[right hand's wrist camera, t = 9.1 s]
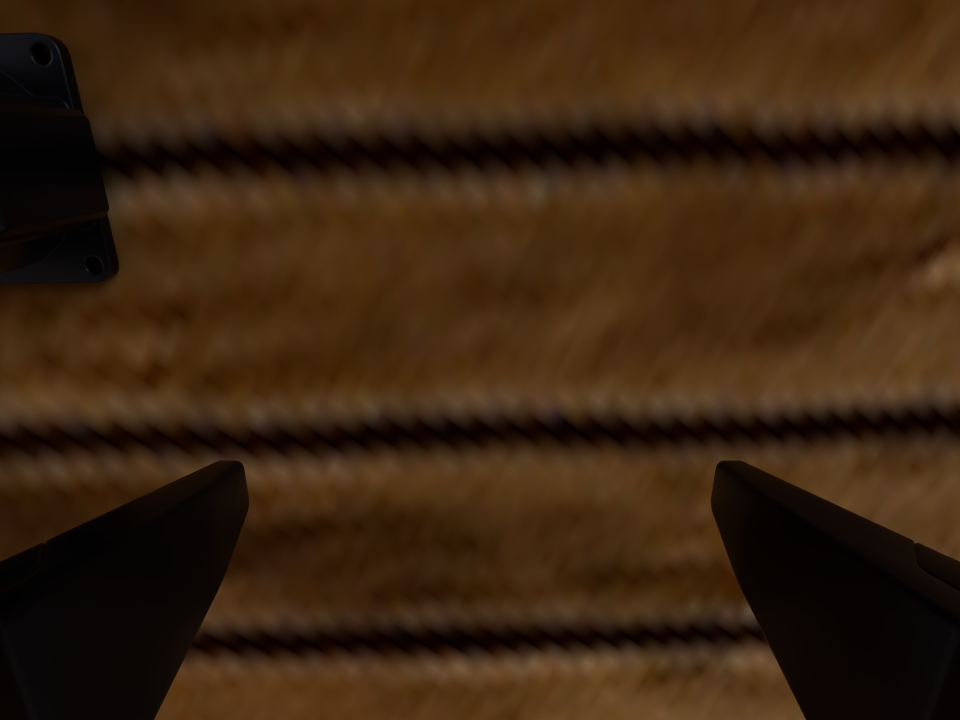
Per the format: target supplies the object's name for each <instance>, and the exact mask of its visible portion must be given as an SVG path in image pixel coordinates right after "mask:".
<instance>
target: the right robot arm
mask: <svg viewBox="0 0 960 720" xmlns="http://www.w3.org/2000/svg"><path fill="white" fill-rule="evenodd" d="M44 47H47V48H48V49H49V51H50V53H51V60H50V62H49V64H46V63H45V62H44V60H43V58H42V50H43V49H44ZM108 210H109V205H108V200H107V196H106V192H105V188H104V183H103V179H102V175H101V170H100V166H99V162H98V157H97V153H96V149H95V145H94V140H93V136H92V132H91V127H90V123H89V120H88V118H87V117H86V116H85V115H84V112H83V108H82V104H81V100H80V95H79V91H78V87H77V83H76V78H75V74H74V70H73V66H72V61H71V57H70V54H69V52H68V49H67V47H66V46H65V45H64V44H63V43H62V41H60V40H59V39H57V38H55V37H53V36H49V35H45V34H40V33H8V34H0V284H34V283H77V282H100V281H104V280H107V279H110V278H112V277H113V276H115V275H116V274H117V272H118V269H119V262H118V257H117V253H116V249H115V245H114V240H113V236H112V232H111V228H110V223H109V219H108V215H107V212H108ZM94 257H96V258H98V259H99V260H100V261H101V263H102V271H101V270H99V269H97V268H96V267H95V265H94V263H93V258H94ZM248 507H249V496H248V490H247V483H246V477H245V471H244V467H243V465H242V463H241V462H240V461H217V462H215V463H213V464H211V465H209V466H206V467H204V468H202V469H200V470H198V471H196V472H193V473H191V474H189V475H187V476H185V477H183V478H181V479H178V480H176V481H174V482H172V483H170V484H168V485H165V486H163V487H161V488H159V489H157V490H155V491H153V492H150V493H148V494H146V495H144V496H142V497H140V498H137V499H135V500H133V501H131V502H129V503H127V504H125V505H122V506H120V507H118V508H116V509H114V510H112V511H109V512H107V513H105V514H103V515H101V516H99V517H96V518H94V519H92V520H90V521H88V522H86V523H84V524H81V525H79V526H77V527H75V528H73V529H71V530H68V531H66V532H64V533H62V534H60V535H58V536H56V537H53V538H51V539H49V540H47V541H46V543H45V544H44V543H40V544H38V545H36V546H34V547H32V548H29V549H27V550H25V551H23V552H21V553H19V554H16V555H14V556H12V557H10V558H7V559H5V560H3V561H1V562H0V720H154V719H155V717H156V715H157V713H158V710H159V708H160V706H161V704H162V702H163V700H164V698H165V696H166V694H167V692H168V690H169V688H170V686H171V684H172V682H173V680H174V678H175V676H176V674H177V672H178V670H179V668H180V666H181V664H182V662H183V660H184V658H185V656H186V654H187V652H188V650H189V648H190V646H191V644H192V642H193V640H194V638H195V636H196V634H197V632H198V630H199V628H200V626H201V624H202V622H203V620H204V618H205V616H206V614H207V611H208V609H209V607H210V605H211V603H212V601H213V599H214V597H215V595H216V593H217V591H218V589H219V587H220V585H221V583H222V581H223V578H224V576H225V573H226V571H227V568H228V565H229V562H230V560H231V557H232V554H233V551H234V548H235V546H236V543H237V540H238V537H239V534H240V531H241V529H242V526H243V523H244V520H245V517H246V515H247V512H248ZM711 507H712V512H713V515H714V517H715V520H716V523H717V526H718V529H719V532H720V534H721V537H722V540H723V543H724V546H725V548H726V551H727V554H728V557H729V560H730V562H731V565H732V568H733V571H734V573H735V576H736V578H737V581H738V583H739V585H740V587H741V589H742V591H743V593H744V595H745V597H746V599H747V601H748V603H749V605H750V607H751V610H752V612H753V614H754V616H755V618H756V620H757V622H758V624H759V626H760V628H761V630H762V632H763V634H764V636H765V638H766V640H767V642H768V644H769V646H770V648H771V650H772V652H773V654H774V656H775V658H776V660H777V662H778V664H779V666H780V668H781V670H782V672H783V674H784V676H785V678H786V680H787V682H788V684H789V686H790V688H791V690H792V692H793V694H794V696H795V698H796V700H797V702H798V704H799V707H800V709H801V711H802V713H803V715H804V717H805V719H806V720H960V562H959V561H957V560H955V559H953V558H950V557H948V556H946V555H944V554H941V553H939V552H937V551H935V550H933V549H931V548H928V547H926V546H924V545H922V544H920V543H916V544H915V543H914V541H913V540H911V539H909V538H907V537H904V536H902V535H900V534H898V533H896V532H894V531H892V530H889V529H887V528H885V527H883V526H881V525H879V524H876V523H874V522H872V521H870V520H868V519H866V518H863V517H861V516H859V515H857V514H855V513H853V512H851V511H848V510H846V509H844V508H842V507H840V506H838V505H835V504H833V503H831V502H829V501H827V500H825V499H823V498H820V497H818V496H816V495H814V494H812V493H810V492H807V491H805V490H803V489H801V488H799V487H797V486H795V485H792V484H790V483H788V482H786V481H784V480H782V479H779V478H777V477H775V476H773V475H771V474H769V473H767V472H764V471H762V470H760V469H758V468H756V467H754V466H751V465H749V464H747V463H745V462H743V461H720V462H719V463H718V465H717V467H716V471H715V477H714V483H713V490H712V496H711Z"/></svg>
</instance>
